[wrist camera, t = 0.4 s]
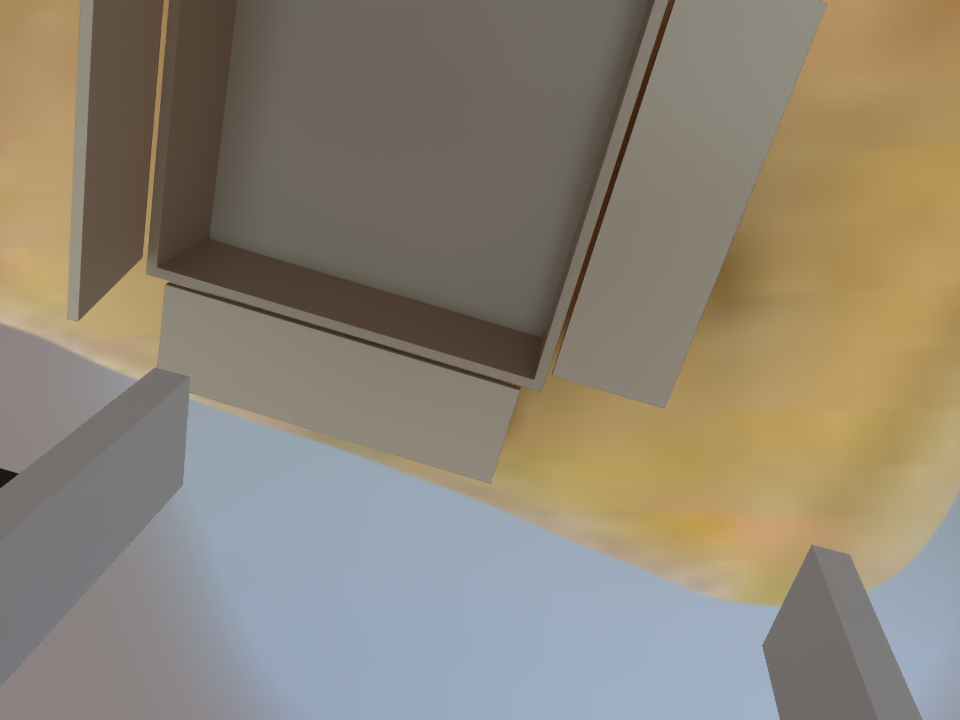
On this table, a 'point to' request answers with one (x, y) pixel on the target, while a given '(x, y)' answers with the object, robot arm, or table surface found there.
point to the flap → (111, 144)
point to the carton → (452, 201)
